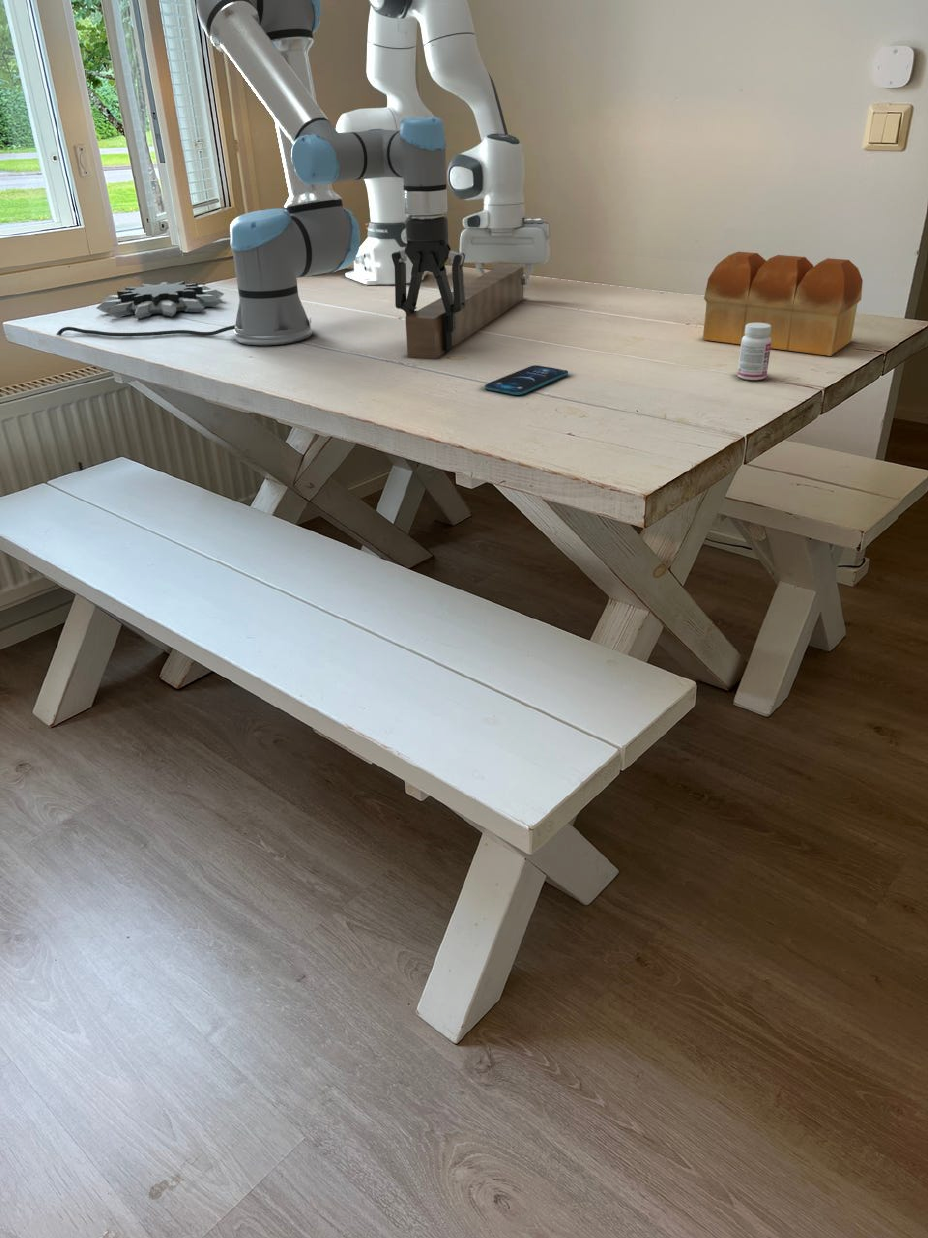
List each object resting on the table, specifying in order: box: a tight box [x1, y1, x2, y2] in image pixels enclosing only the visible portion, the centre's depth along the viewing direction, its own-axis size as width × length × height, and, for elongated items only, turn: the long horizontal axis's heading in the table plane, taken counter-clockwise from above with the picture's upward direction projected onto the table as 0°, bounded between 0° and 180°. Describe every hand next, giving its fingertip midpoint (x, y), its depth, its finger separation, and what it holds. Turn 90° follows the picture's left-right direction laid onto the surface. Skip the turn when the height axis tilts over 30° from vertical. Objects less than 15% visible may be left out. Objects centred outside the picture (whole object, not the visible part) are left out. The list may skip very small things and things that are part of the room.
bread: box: [702, 251, 864, 357], centre depth 174 cm, size 25×12×15 cm, turn 54°
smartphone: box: [484, 364, 569, 396], centre depth 158 cm, size 8×1×15 cm
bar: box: [405, 265, 524, 360], centre depth 194 cm, size 55×6×7 cm, turn 160°
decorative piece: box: [95, 280, 225, 319], centre depth 219 cm, size 30×4×30 cm
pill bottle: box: [737, 323, 772, 381], centre depth 155 cm, size 5×5×8 cm
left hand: (432, 347), depth 178 cm, fingers closed on bar, 6 cm apart
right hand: (505, 284), depth 211 cm, fingers open, 8 cm apart
